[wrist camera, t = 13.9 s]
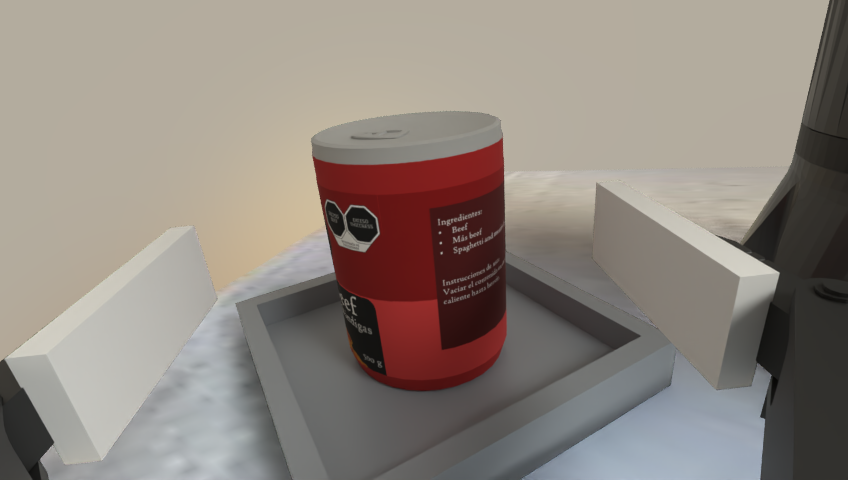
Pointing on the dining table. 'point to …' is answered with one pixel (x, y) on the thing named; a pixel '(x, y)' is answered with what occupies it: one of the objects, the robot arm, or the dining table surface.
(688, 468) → the dining table surface
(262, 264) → the dining table surface
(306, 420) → the tray
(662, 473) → the dining table surface
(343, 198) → the canned food
